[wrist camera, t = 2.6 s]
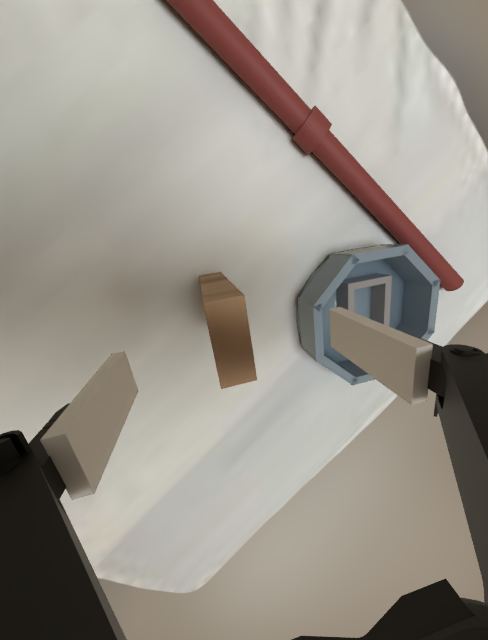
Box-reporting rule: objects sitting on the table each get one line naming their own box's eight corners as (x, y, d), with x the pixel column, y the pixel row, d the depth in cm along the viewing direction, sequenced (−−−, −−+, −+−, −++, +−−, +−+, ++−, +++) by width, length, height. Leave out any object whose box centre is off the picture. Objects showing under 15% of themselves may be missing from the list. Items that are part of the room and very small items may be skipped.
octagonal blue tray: (291, 259, 28) (310, 261, 24) (407, 238, 31) (445, 237, 26) (300, 374, 34) (317, 394, 29) (399, 349, 36) (430, 365, 31)
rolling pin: (150, 5, 20) (143, -36, 17) (170, -32, 20) (165, -81, 17) (435, 292, 35) (458, 296, 32) (450, 274, 34) (474, 276, 31)
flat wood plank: (199, 275, 27) (203, 302, 14) (220, 272, 27) (244, 294, 14) (209, 324, 29) (221, 388, 16) (229, 320, 29) (257, 380, 16)
